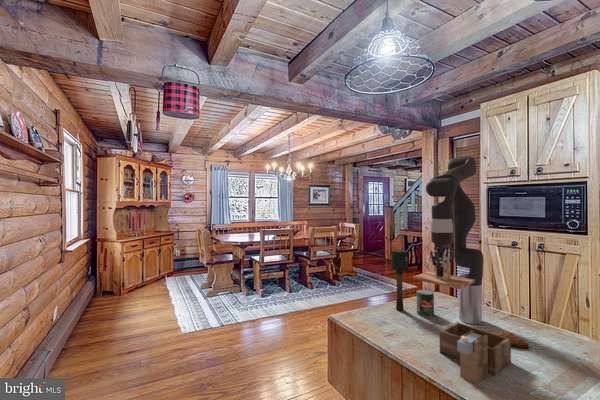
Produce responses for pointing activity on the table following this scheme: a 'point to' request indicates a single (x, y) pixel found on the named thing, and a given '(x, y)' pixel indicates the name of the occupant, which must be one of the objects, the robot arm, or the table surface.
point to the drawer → (467, 343)
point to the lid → (444, 278)
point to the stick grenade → (399, 273)
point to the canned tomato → (425, 303)
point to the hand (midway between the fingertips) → (442, 275)
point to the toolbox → (476, 351)
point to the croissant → (513, 339)
